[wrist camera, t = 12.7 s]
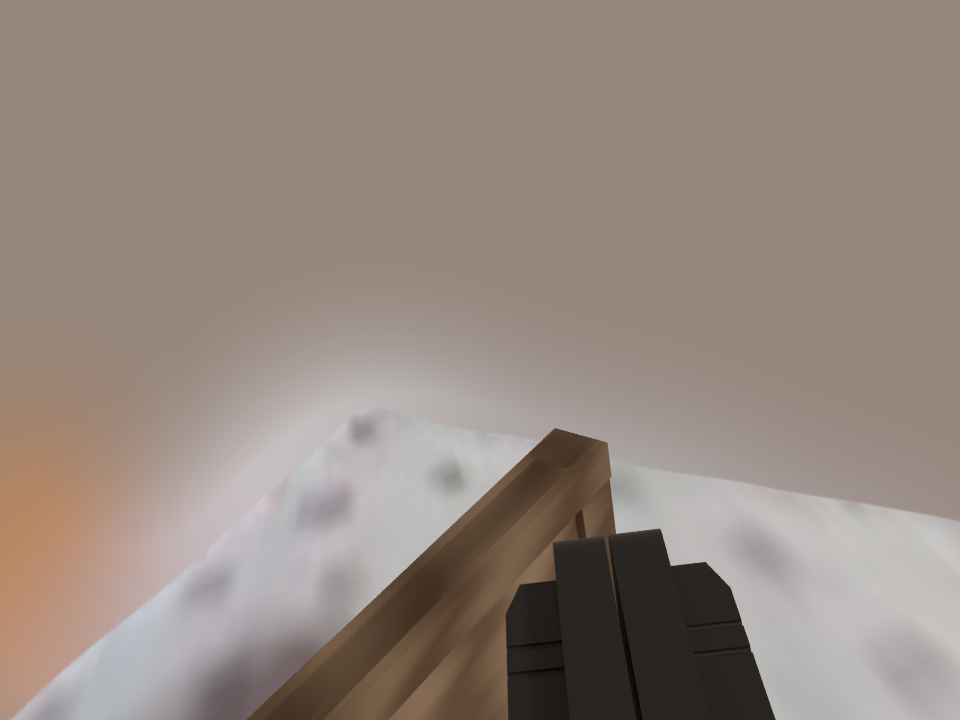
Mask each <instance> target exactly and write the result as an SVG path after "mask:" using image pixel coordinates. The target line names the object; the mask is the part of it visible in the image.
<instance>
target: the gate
mask: <svg viewBox="0 0 960 720" xmlns="http://www.w3.org/2000/svg"><path fill="white" fill-rule="evenodd" d="M610 477H611V469H610V460H609V452H608V444H607V442H603V441H599V440H596V439H592V438H589V437H585V436H581V435H578V434H574V433H570V432H567V431H563V430H559V429H556V428H555V429H554V430H552V431H551V432H550V433H549V434H548V435H547V436H546V437H545V438H544V439H543V440H542V441H541V442H540V443H539V444H538V445H537V446H536V447H535V448H533V449H532V450H531V451H530V452H529V453H528V454H527V455H526V456H525V457H524V458H523V459H522V460H521V461H520V462H519V463H518V464H517V465H515V466H514V467H513V468H512V469H511V470H510V471H509V472H508V473H507V474H506V475H505V476H504V477H503V478H502V479H501V480H500V481H499V482H497V483H496V484H495V485H494V486H493V487H492V488H491V489H490V490H489V491H488V492H487V493H486V494H485V495H484V496H483V497H482V498H481V499H480V500H478V501H477V502H476V503H475V504H474V505H473V506H472V507H471V508H470V509H469V510H468V511H467V512H466V513H465V514H464V515H463V516H462V517H460V518H459V519H458V520H457V521H456V522H455V523H454V524H453V525H452V526H451V527H450V528H449V529H448V530H447V531H446V532H445V533H444V534H443V535H441V536H440V537H439V538H438V539H437V540H436V541H435V542H434V543H433V544H432V545H431V546H430V547H429V548H428V549H427V550H426V551H425V552H423V553H422V554H421V555H420V556H419V557H418V558H417V559H416V560H415V561H414V562H413V563H412V564H411V565H410V566H409V567H408V568H407V569H406V570H404V571H403V572H402V573H401V574H400V575H399V576H398V577H397V578H396V579H395V580H394V581H393V582H392V583H391V584H390V585H389V586H388V587H386V588H385V589H384V590H383V591H382V592H381V593H380V594H379V595H378V596H377V597H376V598H375V599H374V600H373V601H372V602H371V603H370V604H369V605H367V606H366V607H365V608H364V609H363V610H362V611H361V612H360V613H359V614H358V615H357V616H356V617H355V618H354V619H353V620H352V621H351V622H349V623H348V624H347V625H346V626H345V627H344V628H343V629H342V630H341V631H340V632H339V633H338V634H337V635H336V636H335V637H334V638H333V639H331V640H330V641H329V642H328V643H327V644H326V645H325V646H324V647H323V648H322V649H321V650H320V651H319V652H318V653H317V654H316V655H315V656H314V657H312V658H311V659H310V660H309V661H308V662H307V663H306V664H305V665H304V666H303V667H302V668H301V669H300V670H299V671H298V672H297V673H296V674H294V675H293V676H292V677H291V678H290V679H289V680H288V681H287V682H286V683H285V684H284V685H283V686H282V687H281V688H280V689H279V690H278V691H277V692H275V693H274V694H273V695H272V696H271V697H270V698H269V699H268V700H267V701H266V702H265V703H264V704H263V705H262V706H261V707H260V708H259V709H257V710H256V711H255V712H254V713H253V714H252V715H251V716H250V717H249V718H248V719H247V720H508V691H507V680H508V676H507V647H506V612H507V610H508V608H509V606H510V604H511V602H512V600H513V598H514V596H515V594H516V592H517V590H518V588H519V585H520V584H528V583H536V582H545V581H553V580H556V573H555V563H554V553H553V542H558V541H566V540H574V539H582V538H590V537H598V536H604V539H605V545H606V550H607V556H608V562H609V567H610V573H611V579H612V584H613V590H614V596H615V589H614V581H613V573H612V565H611V557H610V549H609V540H608V535H612V534H616V530H615V521H614V513H613V504H612V496H611V487H610ZM615 601H616V597H615ZM616 607H617V605H616Z"/></svg>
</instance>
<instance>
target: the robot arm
mask: <svg viewBox="0 0 960 720" xmlns="http://www.w3.org/2000/svg"><path fill="white" fill-rule="evenodd" d="M608 540H609V549H610V557H611V565H612V573H613V581H614V589H615V596H614V590H613V584H612V579H611V573H610V567H609V562H608V556H607V550H606V545H605V539H604V536H598V537H590V538H582V539H574V540H566V541H558V542H553V553H554V563H555V573H556V580H553V581H545V582H536V583H528V584H520V585H519V588H518V590H517V592H516V594H515V596H514V598H513V600H512V602H511V604H510V606H509V608H508V610H507V612H506V647H507V676H508V680H507V691H508V720H775V717H774V714H773V711H772V708H771V705H770V702H769V699H768V696H767V694H766V691H765V688H764V685H763V682H762V679H761V676H760V673H759V670H758V667H757V664H756V661H755V658H754V655H753V652H751V648H750V644H749V641H748V638H747V635H746V632H745V629H744V626H742V622H741V617H740V614H739V611H738V608H737V606H736V603H735V600H734V597H733V594H732V591H731V588H730V587H729V586H728V585H727V584H726V583H725V582H724V581H723V580H722V579H721V577H720V576H719V575H718V574H717V573H716V572H715V571H714V570H713V569H712V568H711V567H710V566H709V565H708V564H707V563H706V562H701V563H693V564H685V565H676V566H671V565H670V562H669V558H668V554H667V550H666V547H665V543H664V539H663V535H662V532H661V530H660V529H653V530H645V531H637V532H629V533H621V534H612V535H608ZM615 597H616V601H615ZM616 605H617V607H616Z"/></svg>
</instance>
